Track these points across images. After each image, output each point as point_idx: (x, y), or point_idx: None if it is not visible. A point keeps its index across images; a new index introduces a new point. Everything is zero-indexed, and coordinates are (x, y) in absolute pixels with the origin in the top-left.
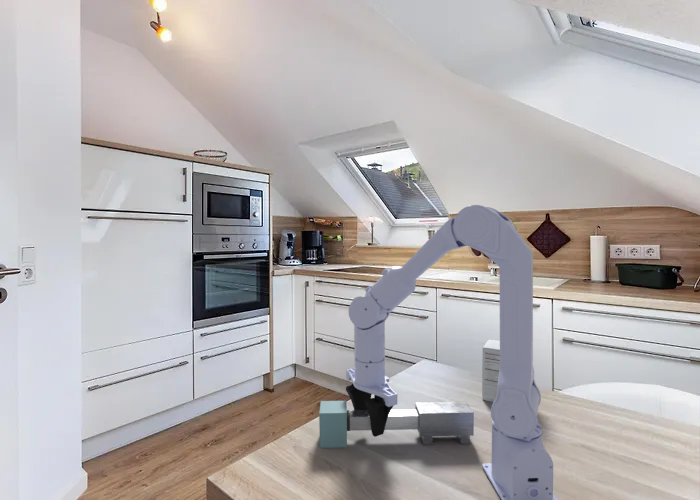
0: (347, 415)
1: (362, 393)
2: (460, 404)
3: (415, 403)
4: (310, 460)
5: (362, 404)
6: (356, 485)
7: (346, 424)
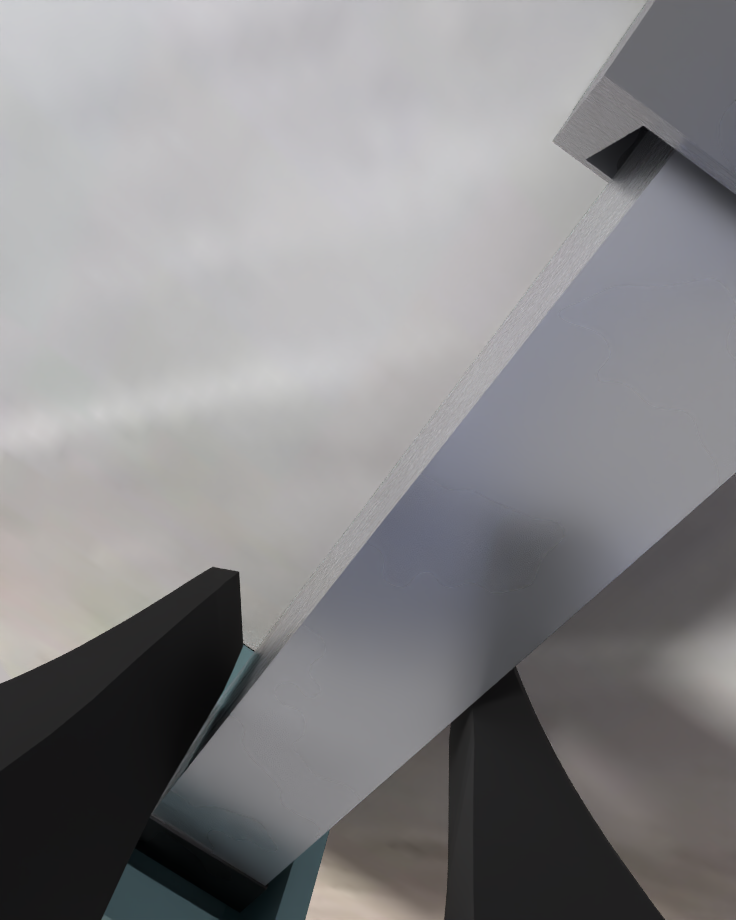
0: (232, 884)
1: (29, 911)
2: None
3: (612, 87)
4: (353, 877)
5: (134, 757)
6: (694, 893)
7: (311, 884)
